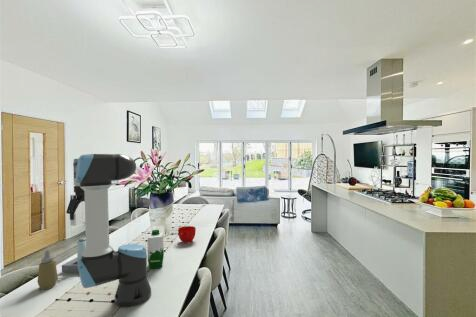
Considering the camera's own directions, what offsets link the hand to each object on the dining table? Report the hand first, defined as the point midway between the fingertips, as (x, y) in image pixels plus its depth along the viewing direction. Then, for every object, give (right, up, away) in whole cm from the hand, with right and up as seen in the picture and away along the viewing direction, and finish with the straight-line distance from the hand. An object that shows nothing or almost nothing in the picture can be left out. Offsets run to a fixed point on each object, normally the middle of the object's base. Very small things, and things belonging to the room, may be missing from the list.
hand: (82, 222), depth 145 cm
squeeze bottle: (-4, -27, -21) cm, 34 cm away
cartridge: (0, -27, 0) cm, 27 cm away
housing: (+1, -27, +6) cm, 27 cm away
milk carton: (+42, -26, +2) cm, 49 cm away
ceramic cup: (+51, -26, +42) cm, 71 cm away
